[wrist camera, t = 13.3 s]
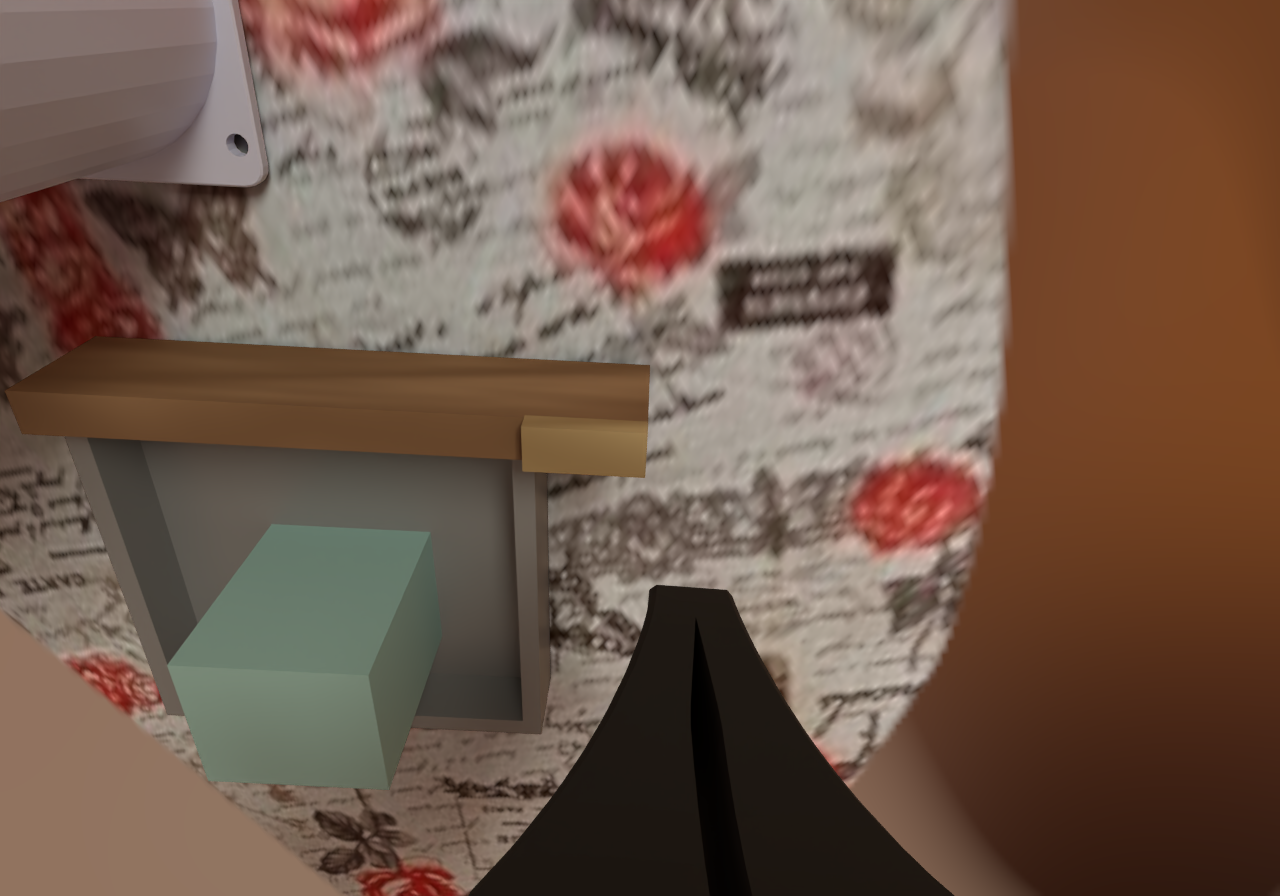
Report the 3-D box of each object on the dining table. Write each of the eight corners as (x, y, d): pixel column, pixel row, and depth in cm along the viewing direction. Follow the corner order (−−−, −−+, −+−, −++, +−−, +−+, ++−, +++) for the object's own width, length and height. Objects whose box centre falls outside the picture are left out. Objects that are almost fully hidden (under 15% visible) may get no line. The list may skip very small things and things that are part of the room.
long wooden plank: (95, 335, 22) (-11, 399, 18) (649, 364, 22) (647, 433, 18) (108, 375, 23) (7, 444, 19) (647, 404, 23) (644, 477, 19)
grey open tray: (116, 381, 23) (59, 421, 21) (545, 404, 23) (533, 446, 21) (205, 660, 28) (167, 714, 26) (550, 678, 28) (541, 734, 26)
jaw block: (271, 523, 25) (166, 665, 19) (430, 531, 25) (368, 675, 19) (296, 628, 27) (208, 781, 22) (442, 636, 27) (389, 790, 22)
